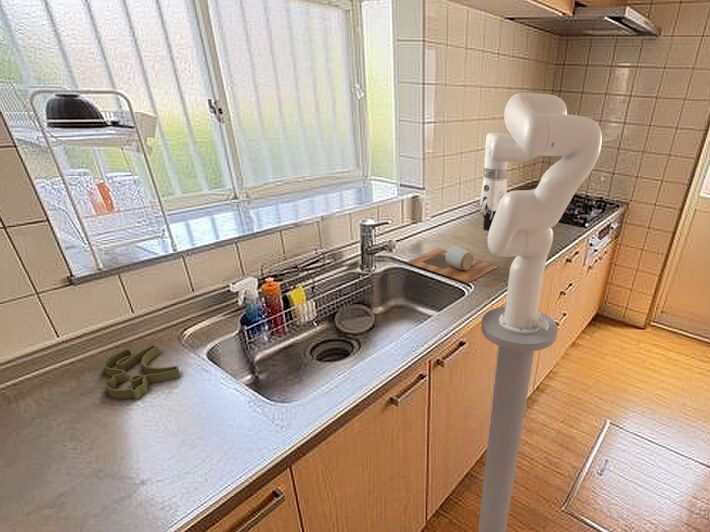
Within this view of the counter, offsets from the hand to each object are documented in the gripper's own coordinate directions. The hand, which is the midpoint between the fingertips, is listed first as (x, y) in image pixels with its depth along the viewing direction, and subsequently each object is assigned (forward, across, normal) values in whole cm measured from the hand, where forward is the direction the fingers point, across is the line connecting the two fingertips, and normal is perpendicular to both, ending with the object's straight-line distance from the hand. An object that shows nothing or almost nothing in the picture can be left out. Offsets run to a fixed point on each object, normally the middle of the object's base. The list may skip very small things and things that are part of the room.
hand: (490, 228), depth 143 cm
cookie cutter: (+17, -98, +29) cm, 104 cm away
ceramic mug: (+17, 0, +11) cm, 20 cm away
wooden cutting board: (+17, 0, +15) cm, 23 cm away
